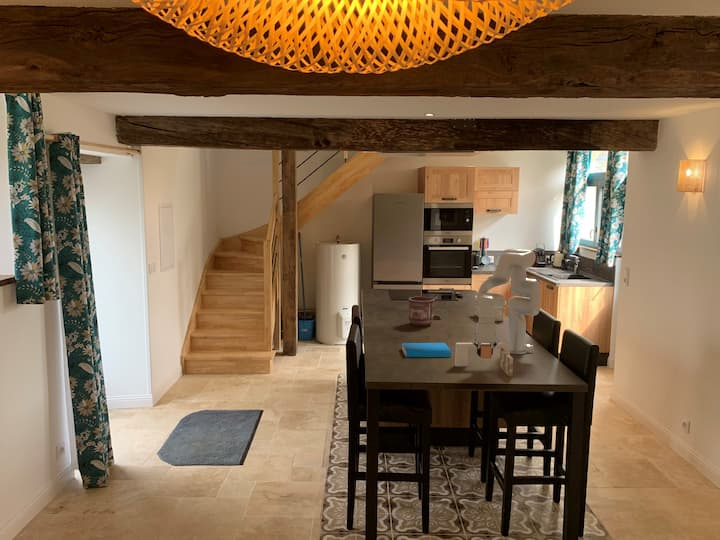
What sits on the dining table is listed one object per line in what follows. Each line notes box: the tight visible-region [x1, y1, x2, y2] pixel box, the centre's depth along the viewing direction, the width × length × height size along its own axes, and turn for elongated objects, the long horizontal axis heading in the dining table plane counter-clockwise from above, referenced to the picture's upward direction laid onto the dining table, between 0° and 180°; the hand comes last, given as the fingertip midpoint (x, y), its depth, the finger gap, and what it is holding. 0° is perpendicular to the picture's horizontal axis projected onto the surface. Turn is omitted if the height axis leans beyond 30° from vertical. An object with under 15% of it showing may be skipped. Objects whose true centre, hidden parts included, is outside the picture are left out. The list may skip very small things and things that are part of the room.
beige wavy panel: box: [499, 348, 514, 377], centre depth 291 cm, size 18×2×10 cm, turn 2°
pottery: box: [408, 296, 436, 328], centre depth 391 cm, size 18×18×18 cm
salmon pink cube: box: [479, 344, 492, 359], centre depth 291 cm, size 5×6×6 cm
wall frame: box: [454, 342, 511, 367], centre depth 300 cm, size 28×2×12 cm, turn 92°
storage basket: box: [474, 295, 507, 322], centre depth 415 cm, size 24×16×15 cm
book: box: [401, 342, 452, 358], centre depth 324 cm, size 17×4×25 cm
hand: (484, 355), depth 291 cm, fingers closed on salmon pink cube, 5 cm apart
